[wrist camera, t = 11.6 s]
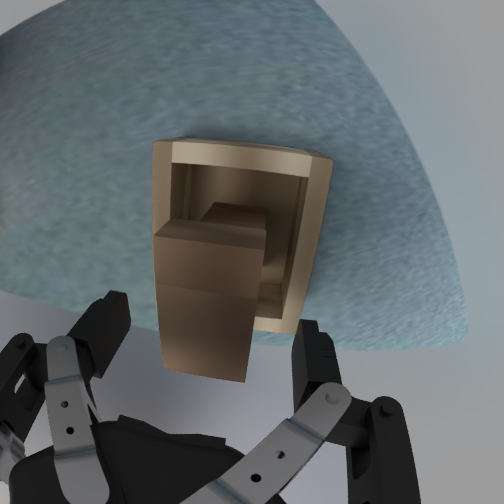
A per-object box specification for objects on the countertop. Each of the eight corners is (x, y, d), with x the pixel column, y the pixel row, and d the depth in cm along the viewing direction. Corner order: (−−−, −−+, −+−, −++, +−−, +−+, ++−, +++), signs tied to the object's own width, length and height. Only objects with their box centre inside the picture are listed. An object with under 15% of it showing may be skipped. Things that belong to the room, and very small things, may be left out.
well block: (176, 280, 25) (157, 313, 21) (179, 137, 20) (153, 141, 15) (292, 297, 25) (295, 334, 20) (320, 152, 20) (333, 160, 15)
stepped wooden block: (210, 260, 24) (164, 368, 13) (216, 176, 21) (152, 236, 10) (258, 267, 24) (244, 382, 13) (270, 182, 21) (264, 250, 10)
